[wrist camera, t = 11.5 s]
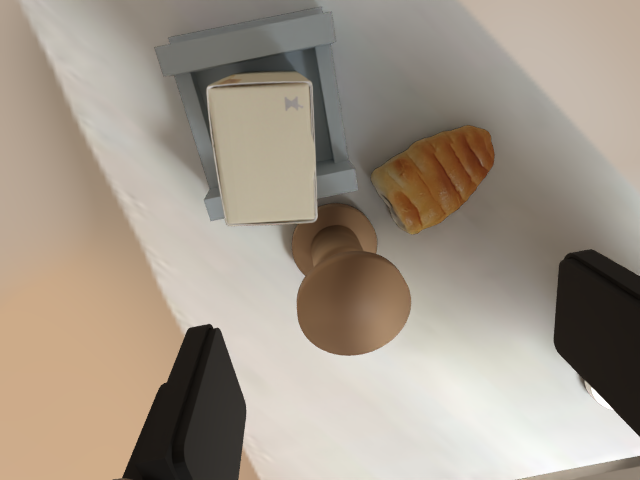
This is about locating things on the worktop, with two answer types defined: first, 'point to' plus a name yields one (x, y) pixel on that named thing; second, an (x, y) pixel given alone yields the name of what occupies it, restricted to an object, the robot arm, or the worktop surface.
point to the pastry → (434, 176)
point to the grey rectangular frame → (264, 55)
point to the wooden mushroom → (347, 284)
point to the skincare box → (264, 147)
